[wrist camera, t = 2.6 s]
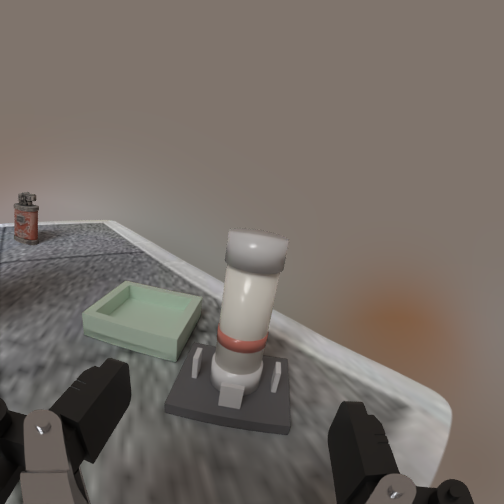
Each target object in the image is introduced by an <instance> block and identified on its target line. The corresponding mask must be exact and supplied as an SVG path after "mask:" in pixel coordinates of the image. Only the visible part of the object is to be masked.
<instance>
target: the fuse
mask: <svg viewBox="0 0 504 504" xmlns="http://www.w3.org/2000/svg"><path fill="white" fill-rule="evenodd" d="M288 243H289V239H287V238H286V237H284V236H281V235H279V234H275V233H272V232H267V231H262V230H256V229H246V228H234V229H230V230H229V234H228V241H227V248H226V256H225V262H226V263H227V270H226V277H225V284H224V292H223V299H222V307H221V314H220V322H219V325H218V332H217V345H216V352H215V353H214V355H213V357H212V365H211V374H210V381H211V383H212V385H213V386H214V387H215V388H216V389H217V390H219V391H220V389H221V383H222V382H223V383H229V384H234V385H240V386H245V387H244V392H243V396H244V395H248V394H251V393H253V392H254V391H256V390H257V388H258V386H259V382H260V378H261V373H262V369H263V361H262V357H263V352H264V348H265V346H266V341H267V337H268V329H269V324H270V319H271V314H272V309H273V304H274V299H275V294H276V289H277V284H278V279H279V274H280V272H282V271H283V269H284V264H285V259H286V254H287V248H288Z"/></svg>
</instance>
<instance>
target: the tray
mask: <svg viewBox="0 0 504 504" xmlns="http://www.w3.org/2000/svg"><path fill="white" fill-rule="evenodd" d="M201 307H202V297H199V296H194V295H189V294H184V293H179V292H175V291H170V290H165V289H161V288H156V287H151V286H147V285H143V284H138V283H134V282H130V281H125V282H123V283H122V284H121V285H119V286H118V287H116V288H115V289H114V290H112V291H111V292H110V293H108V294H107V295H105V296H104V297H103V298H101V299H100V300H99V301H97V302H96V303H95V304H93V305H92V306H91V307H89V308H88V309H87V310H85V311H84V312H83V313H82V318H83V328H84V335H86V336H89V337H92V338H95V339H98V340H101V341H104V342H107V343H110V344H113V345H116V346H119V347H122V348H126V349H129V350H132V351H136V352H139V353H143V354H146V355H150V356H153V357H157V358H161V359H165V360H169V361H173V362H177V360H178V358H179V356H180V354H181V352H182V350H183V348H184V346H185V345H186V343H187V341H188V339H189V337H190V335H191V333H192V331H193V329H194V328H195V326H196V324H197V322H198V320H199V318H200V316H201Z"/></svg>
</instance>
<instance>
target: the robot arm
mask: <svg viewBox="0 0 504 504" xmlns="http://www.w3.org/2000/svg"><path fill="white" fill-rule="evenodd" d="M130 400H131V385H130V374H129V366H128V364H127V363H125V362H122V361H119V360H115V359H112V358H108V359H107V360H106V361H105V362H104V363H103V364H102V365H101V366H100V367H97V366H93V367H91V368H89V369H87V370H85V371H84V372H83V373H82V374H81V375H80V376H79V377H78V378H77V381H74V383H73V384H72V385H71V387H69V388H68V389H67V390H66V391H65V392H64V393H63V395H62V396H61V397H60V398H59V399H58V400H57V401H56V402H55V403H54V405H53V406H52V407H51V408H50V409H49V410H43V409H41V410H35V411H32V412H31V413H29V414H28V415H24V414H20V413H16V412H13V411H9V410H8V408H7V406H6V404H5V402H4V401H3V400H2V399H1V398H0V504H5V502H6V501H7V499H8V497H9V496H10V494H11V492H12V491H13V489H14V488H15V486H16V484H17V483H18V481H19V480H21V489H22V496H23V502H24V504H91V503H90V500H89V497H88V493H87V490H86V487H85V483H84V479H83V476H82V472H81V468H80V464H81V463H82V461H83V460H86V461H88V462H90V463H92V464H94V462H95V461H96V459H97V457H98V456H99V454H100V452H101V451H102V449H103V447H104V446H105V444H106V442H107V441H108V439H109V437H110V436H111V434H112V432H113V431H114V429H115V427H116V426H117V424H118V423H119V421H120V419H121V418H122V416H123V414H124V413H125V411H126V410H127V408H128V406H129V404H130ZM328 447H329V453H330V459H331V466H332V472H333V479H334V485H335V492H336V500H337V504H474V503H473V500H472V497H471V495H470V492H469V490H468V488H467V486H466V485H465V484H464V483H463V482H461V481H458V480H455V479H450V480H446V481H444V482H443V483H441V485H439V487H438V488H428V487H418V486H415V484H414V482H413V481H412V480H411V479H410V478H408V477H407V476H405V475H402V474H400V473H399V470H398V467H397V464H396V461H395V459H394V456H393V453H392V450H391V448H390V445H389V444H388V439H387V437H386V436H385V431H384V429H383V426H382V424H381V423H380V421H379V420H378V419H377V418H376V417H375V416H374V415H368V414H367V411H366V408H365V406H364V403H363V402H349V401H343V402H342V403H341V405H340V407H339V409H338V411H337V414H336V416H335V418H334V420H333V422H332V425H331V427H330V429H329V433H328Z"/></svg>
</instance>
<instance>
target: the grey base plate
mask: <svg viewBox="0 0 504 504" xmlns="http://www.w3.org/2000/svg"><path fill="white" fill-rule="evenodd" d="M215 352H216V347H214V346H209V345H204V344H200V343H195V342H194V343H193V345H192V347H191V349H190V351H189V354H188V356H187V358H186V360H185V362H184V364H183V366H182V368H181V370H180V372H179V374H178V376H177V378H176V381H175V383H174V385H173V387H172V389H171V391H170V393H169V395H168V397H167V399H166V401H165V412H166V413H170V414H173V415H177V416H181V417H185V418H189V419H194V420H198V421H202V422H207V423H212V424H217V425H222V426H227V427H233V428H239V429H245V430H252V431H259V432H266V433H275V434H284V435H288V432H289V429H290V427H291V422H290V399H289V379H288V361H287V359H284V358H277V357H270V356H264V355H263V357H262V361H263V369H262V373H261V378H260V382H259V386H258V388H257V390H256V391H254V392H253V393H251V394H248V395H244V396H243V392H244V387H245V386H240V385H234V384H229V383H223V382H222V383H221V389H220V391H219V390H217V389H216V388H215V387H214V386H213V385H212V383H211V381H210V374H211V365H212V357H213V355H214V353H215Z"/></svg>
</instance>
